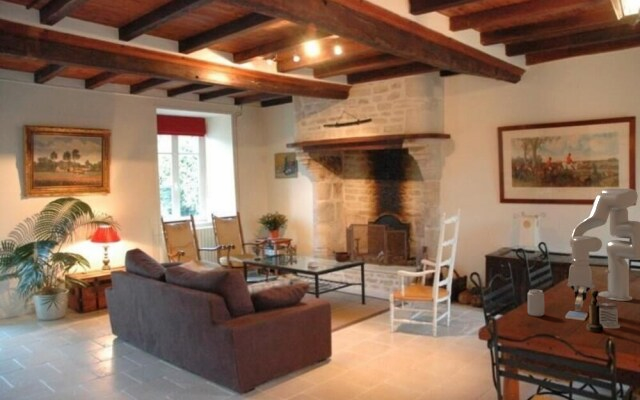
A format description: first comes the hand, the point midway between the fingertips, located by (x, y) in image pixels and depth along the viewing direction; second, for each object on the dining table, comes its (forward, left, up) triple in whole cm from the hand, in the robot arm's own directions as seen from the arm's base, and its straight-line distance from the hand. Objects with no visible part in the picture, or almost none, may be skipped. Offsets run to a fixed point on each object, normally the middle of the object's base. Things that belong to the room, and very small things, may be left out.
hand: (580, 299), depth 252 cm
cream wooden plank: (0, 0, -1) cm, 1 cm away
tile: (+7, 0, -6) cm, 9 cm away
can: (+18, -17, -6) cm, 25 cm away
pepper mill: (+31, +10, -6) cm, 33 cm away
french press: (+20, +13, -6) cm, 25 cm away
